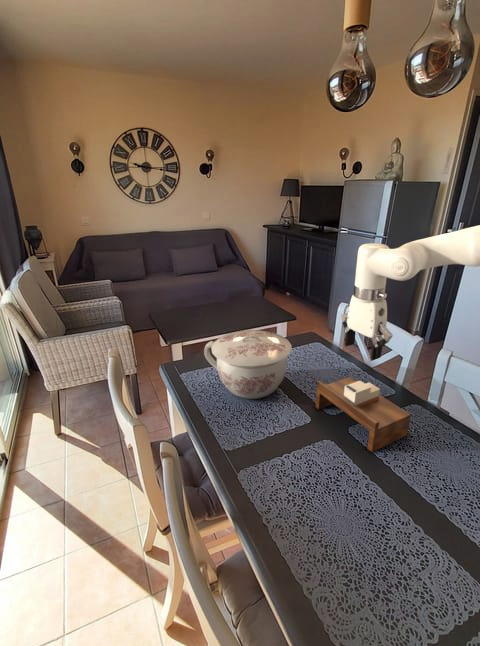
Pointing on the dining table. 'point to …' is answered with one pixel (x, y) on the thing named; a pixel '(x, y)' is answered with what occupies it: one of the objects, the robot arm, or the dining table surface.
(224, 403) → the dining table surface
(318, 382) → the shoe shelf
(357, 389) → the slotted cream box
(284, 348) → the chamber pot
